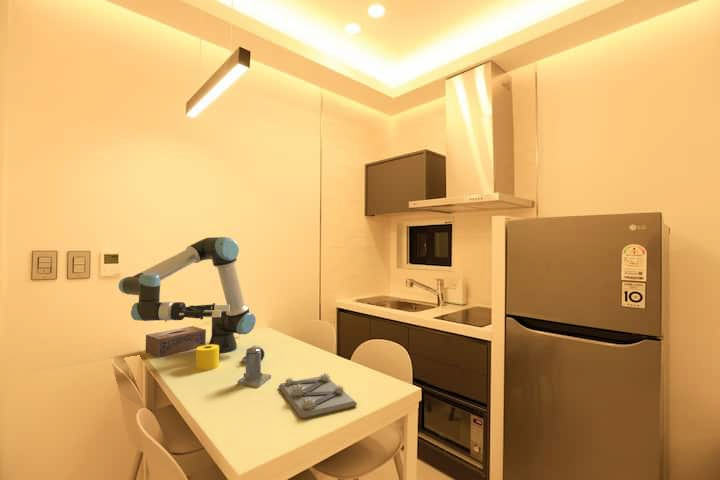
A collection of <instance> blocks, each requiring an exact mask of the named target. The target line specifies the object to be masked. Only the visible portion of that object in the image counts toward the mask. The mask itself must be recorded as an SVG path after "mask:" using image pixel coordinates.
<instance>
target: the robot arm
mask: <svg viewBox="0 0 720 480" xmlns="http://www.w3.org/2000/svg"><path fill="white" fill-rule="evenodd" d="M239 253H240V248H239V245H238V242H237V241H236V240H235V239H233V238H231V237H226V236H218V237H217V236H216V237H215V236H212V237H205V238H203V239H201V240H198V241H196V242H194V243H192V244H190V245H188V246H186V248H185V249H184V250H183V251H181V252H179V253H177V254H174V255H173V256H170V257H169V258H167V259H165V260H163V261H161V262H158V263H157V264H155V265H153V266H151V267H149V268H147V269H146V270H143V271H141V272H138V273H137V274H134V275H132V276H127V277H123V278H122V279H121V280H120V281H119V282H118V290H119V291H120V292H121V293H123V294H126V295H130V296H131V295H132V296H138V301H137V302H135V303H134V304H133V305H132V306H131V310H130V315H131V316H130V317H131V318H132V319H133V321H142V322H149V321H151V322H154V321H164V322H165V323H166V322H168V321H183V320H184V318H190V319H200V320H204V318H211V337H210V340H209V343H208V345H210V344H214V345H219V354H222V353H223V354H224V353H229V352H233V351H236V350H237V348H238V343H237V341H236V337H235V334H237V335H247V334H250V333H251V332H252V330H253V329H254V328H255V326H256V321H257V319H256V315H255V314H254V313H253V312H250V309H249V306H248V305H246V304H245V300H244V296H243V293H242V289H241V283H240V280H239V276H238V272H237V268H236V265H235V264H236V262H237V261H238V255H239ZM206 260H207V261H208V260H211V261H212V266H213V267H215V268H217V271H218V276H219V279H220V282H221V283H220V284H221V286H222V291H223V295H224V298H225V302H226V303H225V304H216V303H215V302H214V303H211V304H199V305H189V306H186V303H185V302H183V301H180V302H179V301H178V302H177V301H175V302H173V301H163V302H161V301H160V300H161V299H160V296H161V281H162V280H165V279H166V278H168V277H170V276H172V275H174V274H175V273H177V272H179V271H181V270H183V269H184V268H187V267H188V266H191V265H192V264H198V263H200V262H203V261H206Z"/></svg>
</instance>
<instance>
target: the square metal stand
mask: <svg viewBox="0 0 720 480" xmlns="http://www.w3.org/2000/svg"><path fill="white" fill-rule="evenodd" d="M271 379H272V375H271V374H265V373H262V377H260V379H257V380H247V379H246V377H244V376H243V377H242V378H240V379H238V380H237V385H239V386H244V387H245V386H246V387H255V388H260V387H261V386H263V385H264V384H265V383H267V382H268V381H269V380H271Z"/></svg>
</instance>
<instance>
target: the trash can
mask: <svg viewBox="0 0 720 480" xmlns="http://www.w3.org/2000/svg"><path fill="white" fill-rule="evenodd" d="M245 356H246V362H245V372H244V373H243V377H246V379H247V380H257V379H260V377H262V374H263V372H261V367H262V365H261V364H262V361H261V349H260V348H251V347H248V348H247V349H246V352H245Z"/></svg>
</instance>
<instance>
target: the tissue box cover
mask: <svg viewBox="0 0 720 480" xmlns="http://www.w3.org/2000/svg"><path fill="white" fill-rule="evenodd" d="M206 332H207V329H205V328H202V327H197V326H194V325H193V326H192V325H191V326H186V327H180V328H176V329H175V328H174V329H170V330H165V331H160V332H159V331H158V332H153V333H148V334H145V349H144V350H145V351H144V353H145V352H146V353H145V354H147V353H149V354H150V355H149V354H148V355H149V356H152V355H153V356H152V357H155V358H158V359H160V358H164V357H169V356H172V355H177V354H180V353H184V352H188V351H192V350H196V348H197V347H199V346H202V345H207V344H206V342H207V341H206V339H207V338H206V336H207V335H206V334H207V333H206Z"/></svg>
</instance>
